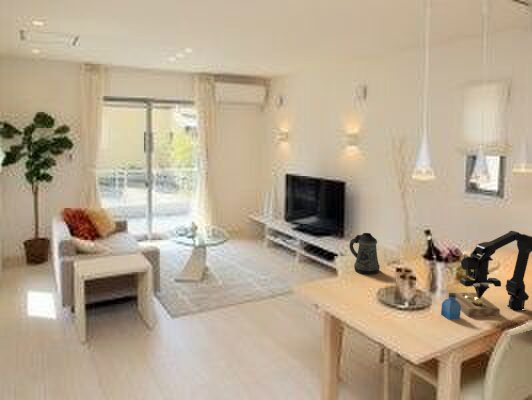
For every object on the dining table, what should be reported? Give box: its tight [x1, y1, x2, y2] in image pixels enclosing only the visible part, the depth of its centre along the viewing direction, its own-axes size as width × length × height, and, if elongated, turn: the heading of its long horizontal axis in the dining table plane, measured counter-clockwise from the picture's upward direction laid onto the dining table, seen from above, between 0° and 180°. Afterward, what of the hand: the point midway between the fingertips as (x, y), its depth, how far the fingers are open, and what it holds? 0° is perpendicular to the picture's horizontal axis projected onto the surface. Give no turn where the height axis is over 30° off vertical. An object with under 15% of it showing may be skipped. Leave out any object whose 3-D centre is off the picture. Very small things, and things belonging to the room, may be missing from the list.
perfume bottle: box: [440, 292, 462, 320], centre depth 217 cm, size 6×6×12 cm
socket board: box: [447, 292, 501, 318], centre depth 229 cm, size 16×22×4 cm
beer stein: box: [348, 232, 381, 276], centre depth 285 cm, size 16×19×25 cm
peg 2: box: [474, 297, 483, 306], centre depth 224 cm, size 4×4×4 cm
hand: (478, 298), depth 223 cm, fingers closed, pressing on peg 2
